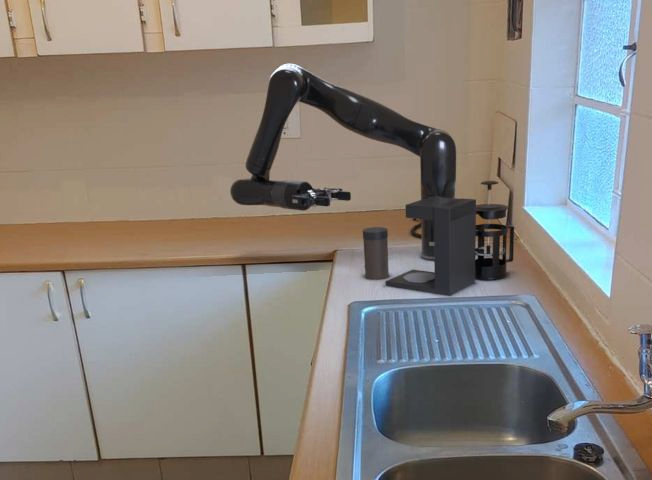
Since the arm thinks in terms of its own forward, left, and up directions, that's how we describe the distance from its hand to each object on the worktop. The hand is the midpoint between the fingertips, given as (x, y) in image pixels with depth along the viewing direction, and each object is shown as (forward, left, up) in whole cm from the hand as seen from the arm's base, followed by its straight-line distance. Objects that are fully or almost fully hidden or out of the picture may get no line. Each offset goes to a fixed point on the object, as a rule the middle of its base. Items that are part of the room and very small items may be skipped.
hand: (339, 199), depth 191 cm
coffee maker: (+7, +26, -19) cm, 33 cm away
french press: (-4, +38, -19) cm, 43 cm away
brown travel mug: (+3, +10, -19) cm, 22 cm away
